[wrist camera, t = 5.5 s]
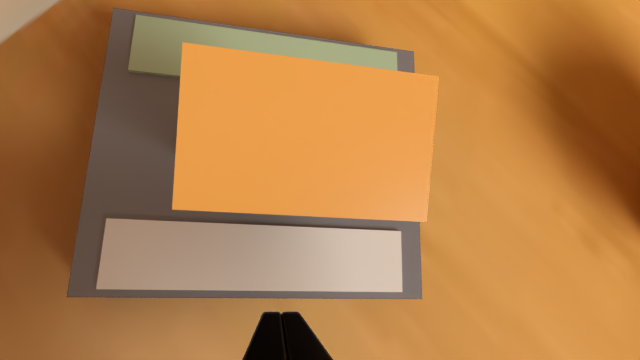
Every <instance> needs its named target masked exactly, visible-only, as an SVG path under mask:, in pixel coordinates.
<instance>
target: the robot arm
mask: <svg viewBox="0 0 640 360" xmlns="http://www.w3.org/2000/svg"><path fill="white" fill-rule="evenodd" d="M243 360H333V359H332V358H331V356H330V355H329V353H328V352H327V351H326V349H325V348H324V346H323V345H322V344H321V342H320V341H319V339H318V338H317V337H316V335H315V334H314V332H313V331H312V330H311V328H310V327H309V326H308V324H307V323H306V321H305V320H304V319H303V317H302V316H301V314H300V313H298V312H283V313H282V314H280V312H264V313H263V314H262V316H261V318H260V321H259V323H258V325H257V327H256V330H255V332H254V334H253V337H252V339H251V341H250V344H249V346H248V348H247V350H246V353H245V355H244V357H243Z"/></svg>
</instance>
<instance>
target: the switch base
mask: <svg viewBox="0 0 640 360" xmlns="http://www.w3.org/2000/svg"><path fill="white" fill-rule="evenodd" d="M182 42H185V43H192V44H200V45H207V46H215V47H222V48H230V49H237V50H245V51H252V52H260V53H267V54H275V55H282V56H290V57H297V58H305V59H312V60H320V61H327V62H335V63H342V64H350V65H357V66H365V67H372V68H380V69H387V70H395V71H402V72H410V73H414V52H413V51H406V50H399V49H393V48H386V47H379V46H372V45H365V44H358V43H351V42H344V41H338V40H331V39H324V38H317V37H310V36H303V35H296V34H289V33H283V32H276V31H269V30H262V29H255V28H248V27H241V26H234V25H228V24H221V23H214V22H207V21H200V20H193V19H186V18H179V17H173V16H166V15H159V14H152V13H145V12H138V11H131V10H124V9H118V8H113V13H112V19H111V25H110V32H109V38H108V44H107V50H106V56H105V62H104V69H103V75H102V81H101V87H100V93H99V100H98V106H97V112H96V118H95V124H94V131H93V137H92V143H91V149H90V155H89V162H88V168H87V174H86V180H85V186H84V193H83V199H82V205H81V211H80V217H79V224H78V230H77V236H76V242H75V248H74V255H73V261H72V267H71V273H70V279H69V286H68V292H67V297H125V298H304V299H422V280H421V250H420V222H414V221H394V220H374V219H353V218H333V217H313V216H293V215H272V214H252V213H232V212H212V211H191V210H172V202H173V186H174V170H175V154H176V138H177V122H178V106H179V90H180V74H181V58H182Z"/></svg>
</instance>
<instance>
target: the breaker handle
mask: <svg viewBox="0 0 640 360" xmlns="http://www.w3.org/2000/svg"><path fill="white" fill-rule="evenodd" d="M438 86H439V76H432V75H425V74H417V73H410V72H402V71H395V70H387V69H380V68H372V67H365V66H357V65H350V64H342V63H335V62H327V61H320V60H312V59H305V58H297V57H290V56H282V55H275V54H267V53H260V52H252V51H245V50H237V49H230V48H222V47H215V46H207V45H200V44H192V43H185V42H182V58H181V74H180V90H179V106H178V122H177V138H176V154H175V170H174V186H173V202H172V210H191V211H212V212H232V213H252V214H272V215H293V216H313V217H333V218H353V219H374V220H394V221H414V222H427V211H428V200H429V189H430V177H431V166H432V154H433V143H434V132H435V120H436V109H437V97H438Z"/></svg>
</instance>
